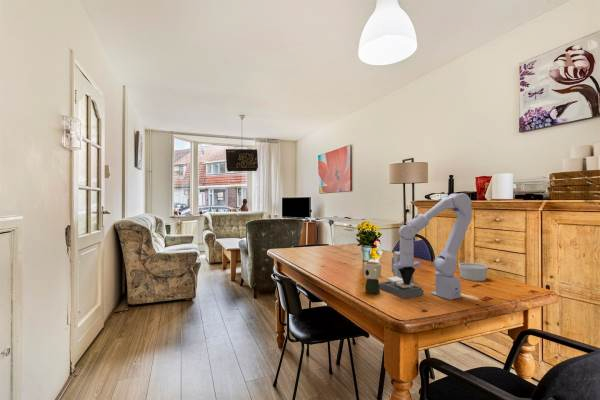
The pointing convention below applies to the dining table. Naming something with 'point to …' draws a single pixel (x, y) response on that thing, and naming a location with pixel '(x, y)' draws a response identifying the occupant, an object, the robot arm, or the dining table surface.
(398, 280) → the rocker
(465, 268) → the ramekin
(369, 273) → the character mug
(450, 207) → the robot arm
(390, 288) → the breaker panel
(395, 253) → the circuit breaker
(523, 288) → the dining table surface
